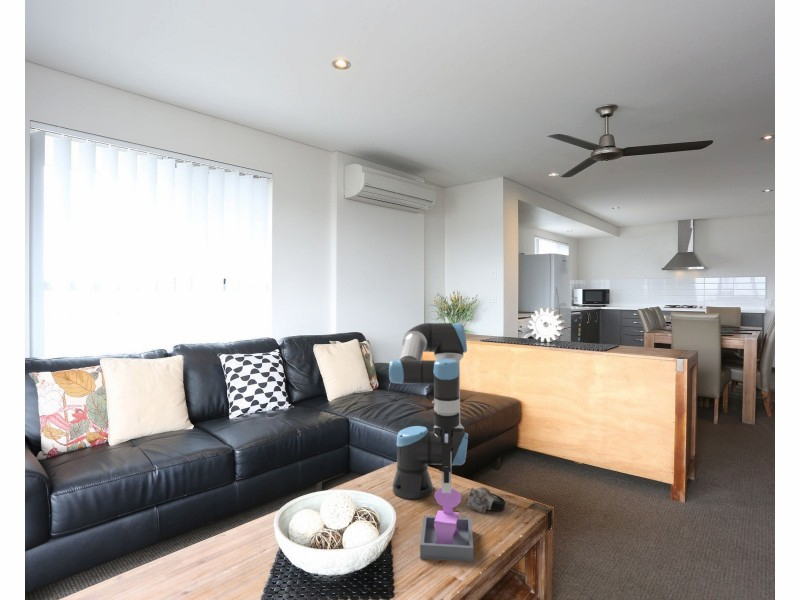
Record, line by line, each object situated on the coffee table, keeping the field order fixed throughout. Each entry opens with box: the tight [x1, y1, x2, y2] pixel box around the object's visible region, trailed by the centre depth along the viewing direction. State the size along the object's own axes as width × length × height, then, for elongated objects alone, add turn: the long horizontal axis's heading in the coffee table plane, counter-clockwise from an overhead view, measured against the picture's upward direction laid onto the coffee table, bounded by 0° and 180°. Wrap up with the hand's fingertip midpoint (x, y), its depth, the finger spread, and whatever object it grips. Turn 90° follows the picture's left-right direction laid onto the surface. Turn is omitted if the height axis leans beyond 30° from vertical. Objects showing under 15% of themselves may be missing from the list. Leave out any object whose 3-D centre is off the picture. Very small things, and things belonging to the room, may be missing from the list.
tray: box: [419, 515, 474, 563], centre depth 135 cm, size 16×15×4 cm
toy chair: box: [434, 487, 462, 545], centre depth 135 cm, size 8×9×15 cm
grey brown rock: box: [466, 487, 506, 515], centre depth 157 cm, size 7×11×10 cm
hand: (446, 481), depth 135 cm, fingers open, 13 cm apart
